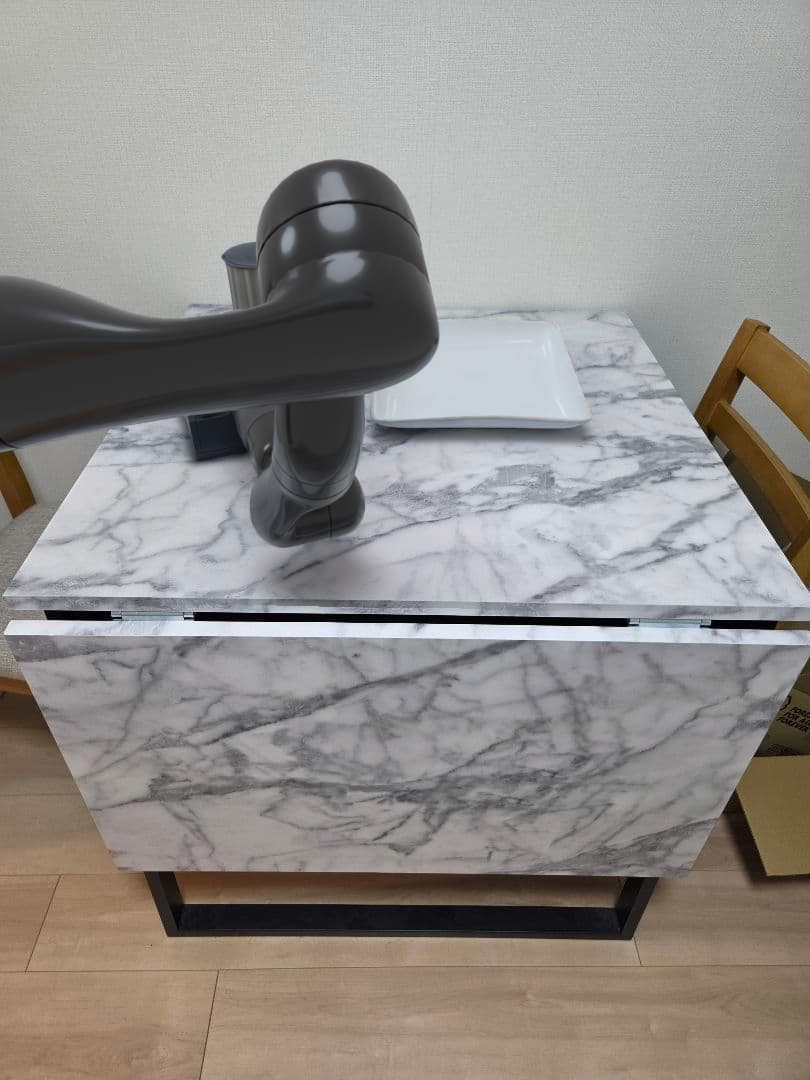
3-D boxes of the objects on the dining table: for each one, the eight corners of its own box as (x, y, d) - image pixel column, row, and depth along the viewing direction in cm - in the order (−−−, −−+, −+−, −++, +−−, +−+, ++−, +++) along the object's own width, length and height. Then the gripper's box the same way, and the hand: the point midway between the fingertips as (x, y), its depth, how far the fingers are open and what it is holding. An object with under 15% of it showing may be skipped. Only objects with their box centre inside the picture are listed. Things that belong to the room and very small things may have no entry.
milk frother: (246, 375, 104) (232, 270, 95) (217, 328, 115) (202, 230, 105) (341, 355, 109) (336, 254, 99) (305, 312, 120) (297, 217, 110)
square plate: (375, 341, 113) (374, 316, 110) (554, 342, 113) (558, 318, 111) (370, 441, 92) (370, 414, 90) (589, 443, 93) (595, 416, 90)
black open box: (197, 461, 89) (188, 421, 85) (178, 393, 100) (170, 356, 97) (331, 436, 93) (328, 397, 90) (298, 373, 105) (295, 337, 101)
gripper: (331, 375, 81) (295, 313, 92) (197, 397, 77) (177, 330, 89) (335, 434, 86) (300, 368, 97) (209, 457, 82) (188, 386, 94)
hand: (241, 350), depth 93 cm, fingers closed on soda can, 7 cm apart
